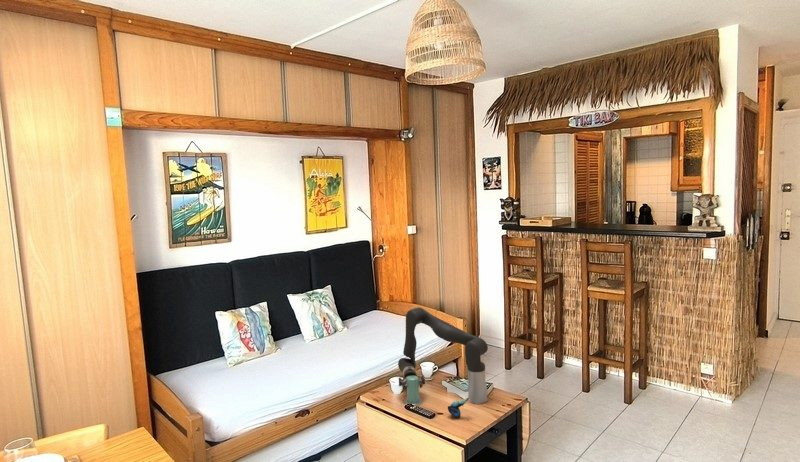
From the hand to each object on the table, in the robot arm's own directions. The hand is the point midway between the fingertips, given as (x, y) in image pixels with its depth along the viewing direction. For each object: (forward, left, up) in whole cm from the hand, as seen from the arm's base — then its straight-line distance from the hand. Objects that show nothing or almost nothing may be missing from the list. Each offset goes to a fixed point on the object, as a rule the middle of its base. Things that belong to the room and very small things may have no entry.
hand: (413, 386), depth 258 cm
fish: (-20, +19, -10) cm, 29 cm away
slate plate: (0, -2, -10) cm, 10 cm away
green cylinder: (0, -2, -9) cm, 9 cm away
